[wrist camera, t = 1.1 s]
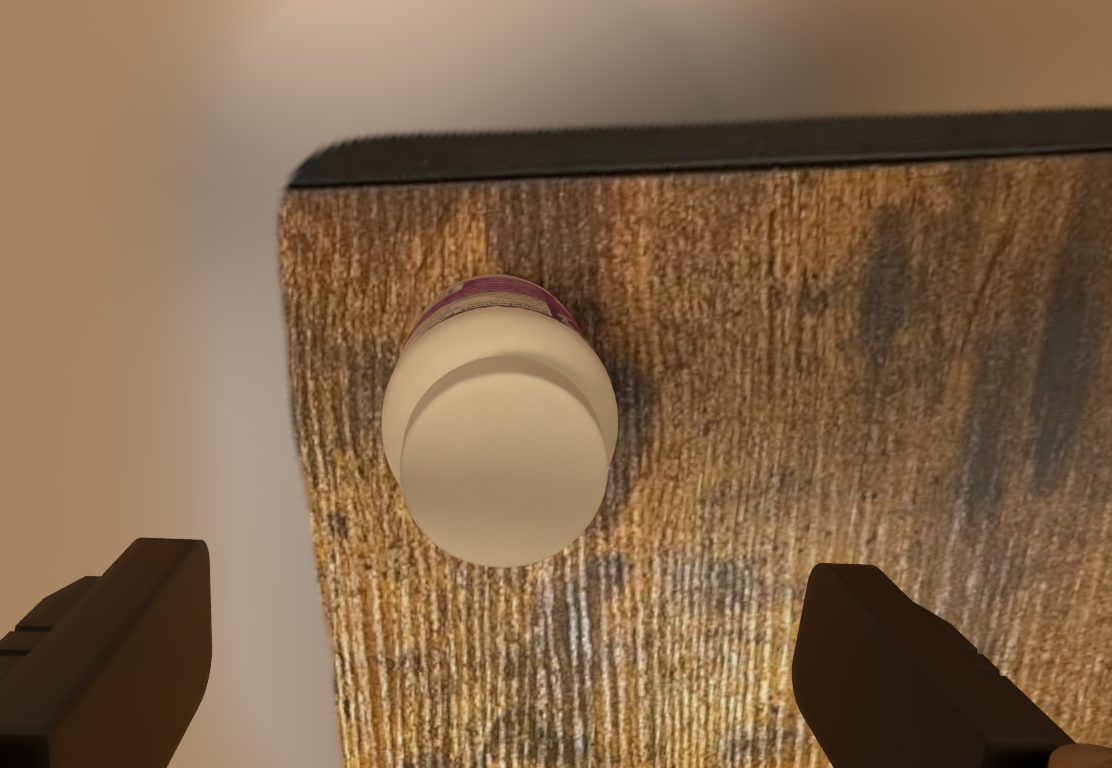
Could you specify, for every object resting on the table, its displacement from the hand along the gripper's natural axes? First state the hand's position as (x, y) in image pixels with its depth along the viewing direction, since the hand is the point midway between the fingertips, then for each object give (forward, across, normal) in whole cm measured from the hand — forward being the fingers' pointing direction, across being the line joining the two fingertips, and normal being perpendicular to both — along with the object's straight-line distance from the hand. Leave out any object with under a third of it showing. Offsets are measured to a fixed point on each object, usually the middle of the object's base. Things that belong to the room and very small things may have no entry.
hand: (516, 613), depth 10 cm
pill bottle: (+14, 0, 0) cm, 14 cm away
